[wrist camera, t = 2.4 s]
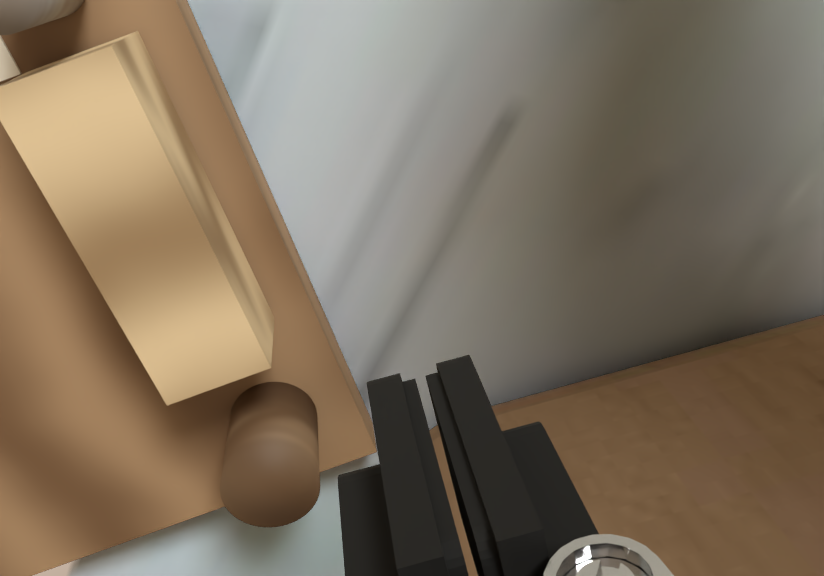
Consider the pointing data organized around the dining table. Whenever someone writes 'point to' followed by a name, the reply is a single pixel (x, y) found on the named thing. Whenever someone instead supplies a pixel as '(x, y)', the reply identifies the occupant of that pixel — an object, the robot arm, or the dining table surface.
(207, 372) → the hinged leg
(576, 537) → the robot arm
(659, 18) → the dining table surface
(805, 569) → the wooden block
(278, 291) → the board
